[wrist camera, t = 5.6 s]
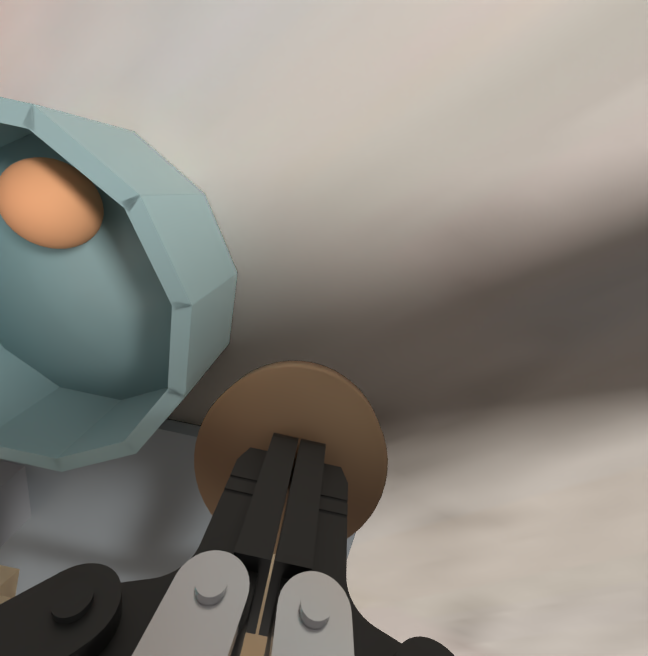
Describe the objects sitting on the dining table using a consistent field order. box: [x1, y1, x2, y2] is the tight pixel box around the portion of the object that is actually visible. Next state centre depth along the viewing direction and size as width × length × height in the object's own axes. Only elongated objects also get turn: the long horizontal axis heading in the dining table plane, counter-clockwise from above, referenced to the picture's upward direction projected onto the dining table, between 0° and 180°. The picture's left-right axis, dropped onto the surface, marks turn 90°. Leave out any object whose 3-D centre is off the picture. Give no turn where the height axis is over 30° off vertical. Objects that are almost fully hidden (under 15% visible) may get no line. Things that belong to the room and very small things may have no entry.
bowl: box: [0, 97, 237, 472], centre depth 14 cm, size 12×12×5 cm
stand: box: [0, 419, 356, 596], centre depth 16 cm, size 17×20×10 cm
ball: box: [0, 157, 104, 249], centre depth 13 cm, size 3×3×3 cm
